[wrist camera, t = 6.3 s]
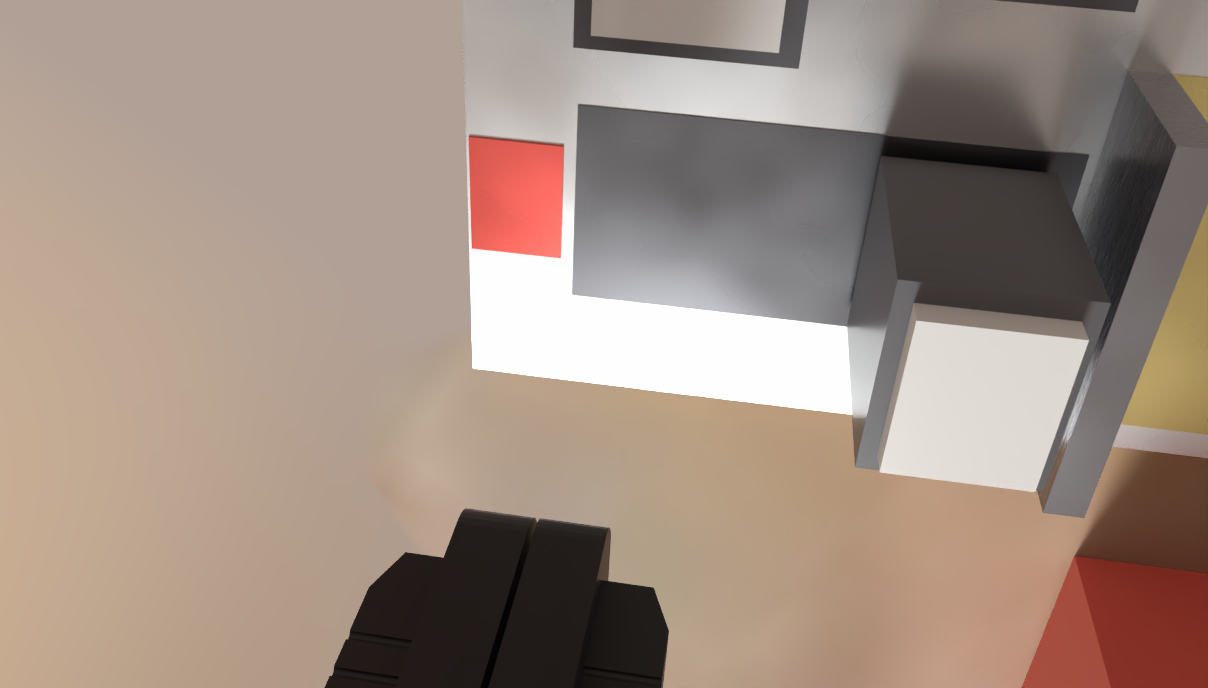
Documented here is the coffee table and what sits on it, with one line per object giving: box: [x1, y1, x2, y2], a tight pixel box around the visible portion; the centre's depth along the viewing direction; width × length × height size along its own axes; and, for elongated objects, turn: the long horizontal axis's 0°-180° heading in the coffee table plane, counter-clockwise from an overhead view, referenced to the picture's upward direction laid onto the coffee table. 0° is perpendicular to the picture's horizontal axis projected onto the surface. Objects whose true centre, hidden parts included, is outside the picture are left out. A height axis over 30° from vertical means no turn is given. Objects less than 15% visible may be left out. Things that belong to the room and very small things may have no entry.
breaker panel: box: [462, 0, 1208, 518], centre depth 15 cm, size 17×12×4 cm
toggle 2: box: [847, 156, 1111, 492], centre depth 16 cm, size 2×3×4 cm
